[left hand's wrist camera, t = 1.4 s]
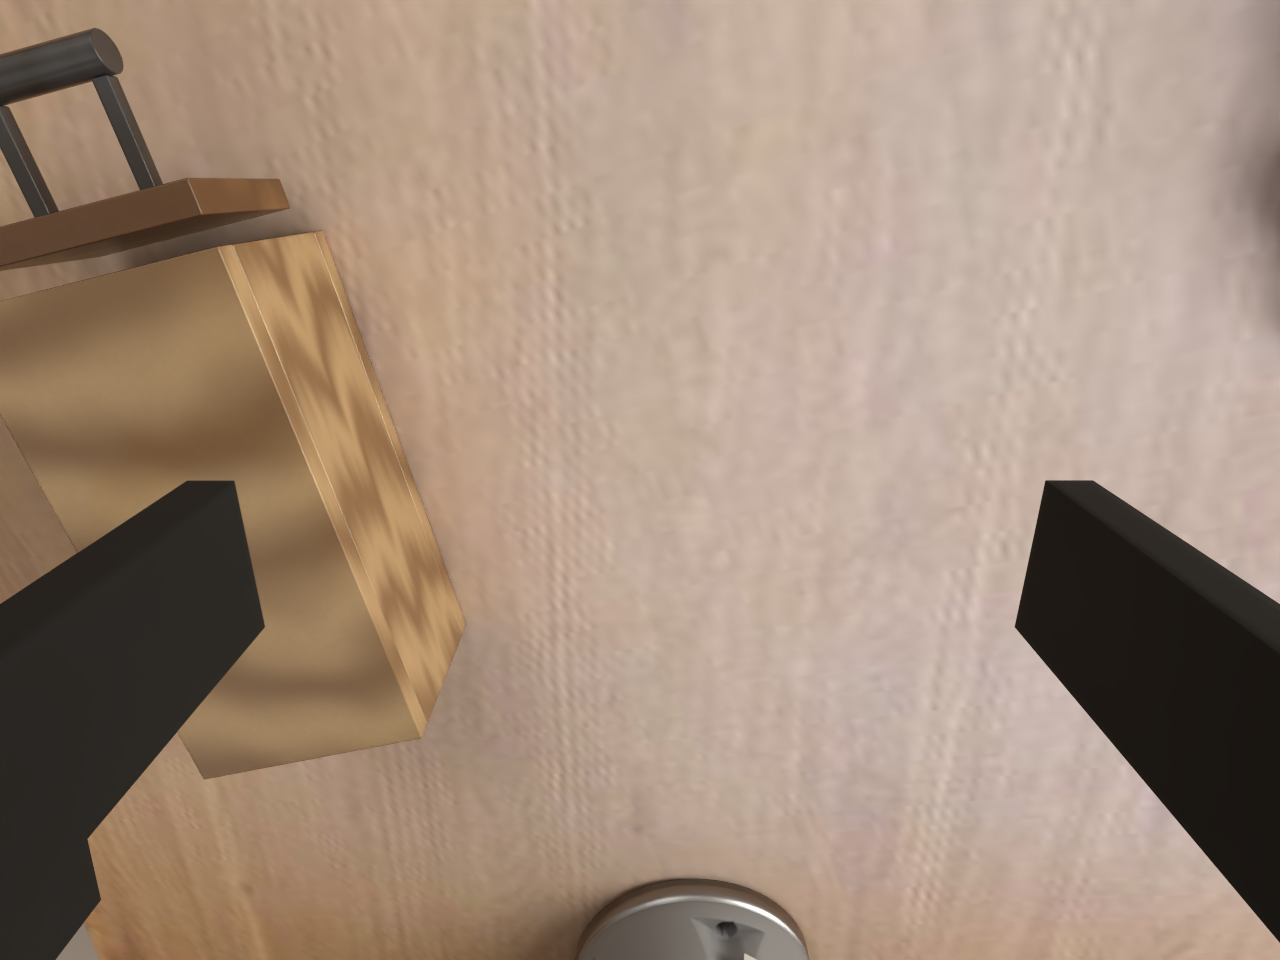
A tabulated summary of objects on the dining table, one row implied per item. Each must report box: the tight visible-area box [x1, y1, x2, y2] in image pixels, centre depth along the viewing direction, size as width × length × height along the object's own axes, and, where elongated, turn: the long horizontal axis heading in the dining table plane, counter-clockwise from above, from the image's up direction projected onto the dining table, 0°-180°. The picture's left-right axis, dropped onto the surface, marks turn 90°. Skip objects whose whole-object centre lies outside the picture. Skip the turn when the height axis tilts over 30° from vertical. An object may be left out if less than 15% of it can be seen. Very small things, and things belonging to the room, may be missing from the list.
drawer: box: [0, 28, 290, 271], centre depth 31 cm, size 25×9×7 cm, turn 13°
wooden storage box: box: [0, 231, 466, 779], centre depth 33 cm, size 21×10×9 cm, turn 13°
